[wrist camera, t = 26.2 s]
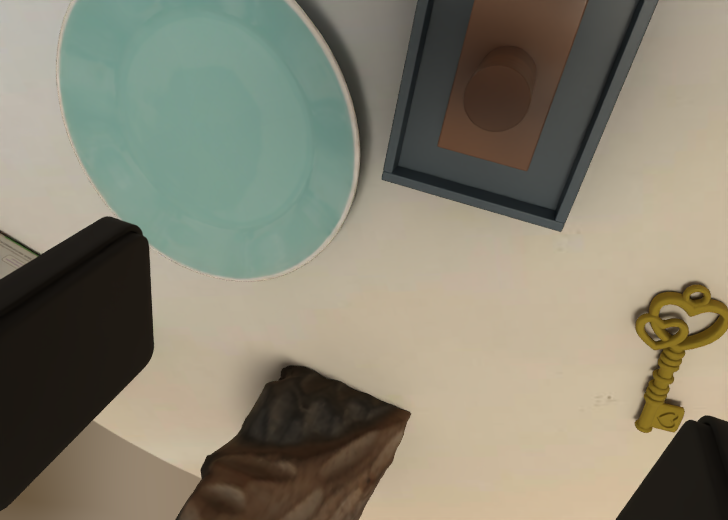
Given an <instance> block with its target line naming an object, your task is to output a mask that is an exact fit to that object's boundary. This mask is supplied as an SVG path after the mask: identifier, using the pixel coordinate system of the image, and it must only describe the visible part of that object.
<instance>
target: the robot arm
mask: <svg viewBox="0 0 728 520" xmlns="http://www.w3.org/2000/svg"><path fill="white" fill-rule="evenodd" d="M153 350H154V338H153V318H152V298H151V277H150V257H149V243H148V240H147V238H146V237H144V236H143V233H142V230H141V229H140V227H138V226H137V225H134V224H131V223H128V222H125V221H122V220H119V219H116V218H113V217H104V218H101V219H99V220H98V221H96V222H94V223H93V224H91V225H89V226H88V227H86V228H84V229H83V230H81V231H79V232H78V233H76V234H74V235H73V236H71V237H70V238H68V239H66V240H65V241H63V242H61V243H60V244H58V245H56V246H55V247H53V248H51V249H50V250H48V251H46V252H45V253H43V254H41V255H40V256H38V257H36V258H35V259H33V260H31V261H30V262H28V263H26V264H25V265H23V266H21V267H20V268H18V269H16V270H15V271H13V272H11V273H10V274H8V275H6V276H5V277H3V278H2V279H0V511H1V510H3V509H5V508H6V507H7V506H8V505H9V504H11V503H12V502H13V501H14V499H16V498H17V496H19V495H20V493H21V492H23V491H24V490H25V488H26V487H27V486H28V485H29V484H30V483H31V482H32V481H33V480H34V479H35V478H36V477H37V476H38V475H39V474H40V473H41V472H42V471H43V470H44V469H45V468H46V467H47V466H48V465H49V464H50V463H51V462H52V461H53V460H54V459H55V458H56V457H57V456H58V455H59V454H60V453H61V452H62V451H63V450H64V449H65V448H66V447H67V446H68V445H69V444H70V443H71V442H72V441H73V440H74V439H75V438H76V437H77V436H78V435H79V433H80V432H81V431H83V429H84V428H85V427H86V426H87V425H88V424H89V423H90V422H91V421H92V420H93V419H94V418H95V417H96V416H97V415H98V414H99V413H100V412H101V411H102V410H103V409H104V408H105V407H106V406H107V405H108V404H109V403H110V402H111V401H112V400H113V399H114V398H115V397H116V396H117V395H118V394H119V393H120V392H121V391H122V390H123V389H124V388H125V387H126V386H127V385H128V384H129V383H130V382H131V381H132V380H133V379H134V378H135V377H136V376H137V375H138V374H139V373H140V372H141V371H142V369H143V368H144V367H145V366H146V365H147V364H148V362H149V361H150V359H151V357H152V354H153ZM616 520H728V422H727V421H724V420H721V419H718V418H715V417H712V416H703V417H702V418H700V419H699V420H698V421H694V420H688V421H686V422H685V423H684V424H683V426H682V427H681V428H680V430H679V431H678V433H677V434H676V435H675V437H674V438H673V440H672V441H671V442H670V444H669V445H668V447H667V448H666V449H665V451H664V452H663V454H662V455H661V456H660V458H659V459H658V461H657V462H656V464H655V465H654V466H653V468H652V469H651V471H650V472H649V473H648V475H647V476H646V478H645V479H644V480H643V482H642V483H641V485H640V486H639V487H638V489H637V490H636V492H635V493H634V494H633V496H632V497H631V499H630V500H629V501H628V503H627V504H626V506H625V507H624V508H623V510H622V511H621V513H620V514H619V515H618V517H617V518H616Z"/></svg>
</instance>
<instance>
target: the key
mask: <svg viewBox="0 0 728 520" xmlns="http://www.w3.org/2000/svg"><path fill="white" fill-rule="evenodd" d="M695 292H701V293H703V294H704V296H703V297H702V299H696V300H691V299H690V295H691V294H693V293H695ZM668 304H672V305H677V306H679V307H681V308H683V309H684V310H685V311H686V312H687V314H688V315H689V316H690V317H692V316H695V315H698V314H701V313H705V312H714V313H718V314H720V316H719V317H718V319H717V321H716V322H715V323H714V324H713V325H712V326H711V327H709V328H708V329H706V330H705V331H703V332H700V333H698V334H695V335H692V336H688V337H687V335H688V333H689V329H688V326H687V324H686V323H685V322H684V321H683V320H681V319H678V318H671V319H667V320H662V319H661V318H660V317H659V312H660V309H661V308H662V307H663V306H664V305H668ZM647 322H650V324H651V327H652V329H653V331H654V333H655V334H656V335H657V336H658V337H659V338H660V339H661V340H659V341H654V340H653V339H652V338H651V337H650V336H649V335H648V334H647V332H646V331H645V324H646V323H647ZM669 327H679V331H678V332H677V333H676V334H674V335H673V336H672V335H671V334H670V333H668V332H667V331H666V330H665V329H666V328H669ZM635 328H636V332H637V334H638V335H639V337H640V338H641V339H642V340H643V341H644V342H645V343H646V344H647V345H648V346H649V347H651V348H652V349H653V350H659V349H663V351H662V352H661V354H660V358H659V359H658V365H659V366H660V368H659V369H656V370H654V372H653V378H654V379H652V380H650V381H649V383H648V387H647V388H646V392H645V394H644V399H645V401H646V403H645V405H644V408H643V410H642V413H641V415H640V418H639V419H638V420H636V422H635V426H636V428H637V429H638V430H639V431H641V432H644V433H648V432H651V431H652V427H654V428H658V429H662V430H666V431H670V432H675V431H676V430H677V429H678V427H679V425H680V423H681V421H682V418H683V416H684V412H685V411H684V408H683V407H679V406H674V405H670V404H666V403H664V401H665V399H666V397H667V393H668V392H669V390H670V388H669V384H672V383H673V381H674V377H673V373H674V372H676V371H677V370H678V369H679V365H680V364H681V363H682V358H683V357H684V355H685V351H684V350H689V349H694V348H698V347H702V346H705V345H708V344H710V343H712V342H714V341H715V340H717V339H719V338H720V337H721V336H722V335H723V334H724V333H725V332H726V331H727V329H728V308H727V306H726V305H725V304H724V303H722V302H720V301H717V300H713V299H711V295H710V291H709V290H708V289H707V288H706V287H705V286H702V285H692V286H689V287H687V288H686V289H685V291H684V292H683V294H680V293H677V292H664V293H659V294H658V295H657V296H655V297H654V298H653V300H652V301H651V304H650V307H649V313H646V314H643V315H641V316H640V317H638V319H637V321H636V326H635Z"/></svg>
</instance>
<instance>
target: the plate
mask: <svg viewBox="0 0 728 520" xmlns="http://www.w3.org/2000/svg"><path fill="white" fill-rule="evenodd" d="M56 79H57V89H58V97H59V103H60V108H61V113H62V117H63V121H64V125H65V128H66V131H67V134H68V137H69V140H70V143H71V145H72V148H73V150H74V152H75V155H76V157H77V159H78V161H79V163H80V165H81V167H82V169H83V171H84V172H85V174H86V176H87V178H88V179H89V181H90V183H91V184H92V186H93V187H94V189H95V190H96V192H97V193H98V195H99V196H100V197H101V199H102V200H103V201H104V203H105V204H106V205H107V207H108V208H109V209H110V210H111V211H112V213H113V214H114V215H115V216H116V217H117V218H118V219H119V220H122V221H125V222H128V223H131V224H134V225H137V226H138V227H140V229H141V230H142V233H143V236H144V237H146V238H147V240H148V243H149V247H151V248H152V249H154V250H155V251H157V252H158V253H160V254H161V255H163V256H164V257H166V258H168V259H169V260H171V261H173V262H175V263H177V264H179V265H181V266H183V267H185V268H187V269H190V270H192V271H195V272H198V273H200V274H203V275H206V276H210V277H214V278H218V279H223V280H230V281H244V282H252V281H262V280H268V279H273V278H276V277H280V276H283V275H286V274H288V273H291V272H293V271H295V270H297V269H299V268H300V267H302V266H304V265H305V264H307V263H309V262H310V261H311V260H312V259H314V258H315V257H316V256H317V255H318V254H320V253H321V252H322V251H323V250H324V249H325V248H326V247H327V245H328V244H329V243H330V242H331V241H332V240H333V238H334V237H335V235H336V234H337V233H338V231H339V230H340V228H341V226H342V225H343V223H344V221H345V219H346V217H347V215H348V213H349V210H350V208H351V205H352V202H353V200H354V196H355V193H356V189H357V184H358V179H359V168H360V138H359V129H358V124H357V118H356V113H355V109H354V105H353V101H352V98H351V95H350V92H349V89H348V86H347V84H346V81H345V79H344V76H343V74H342V71H341V69H340V67H339V65H338V63H337V61H336V59H335V57H334V55H333V53H332V51H331V50H330V48H329V46H328V44H327V43H326V41H325V40H324V38H323V36H322V35H321V33H320V32H319V30H318V29H317V28H316V26H315V25H314V24H313V22H312V21H311V20H310V19H309V17H308V16H307V14H306V13H305V12H304V11H303V9H302V8H301V7H300V6H299V5H298V4H297V2H296V1H295V0H72V1H71V3H70V5H69V7H68V9H67V12H66V14H65V17H64V19H63V23H62V27H61V31H60V35H59V41H58V47H57V58H56Z"/></svg>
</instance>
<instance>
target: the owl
mask: <svg viewBox="0 0 728 520" xmlns="http://www.w3.org/2000/svg"><path fill="white" fill-rule="evenodd" d="M410 415H411V413H410V412H408V411H405V410H402V409H399V408H397V407H395V406H393V405H390V404H387V403H385V402H382V401H380V400H378V399H376V398H374V397H372V396H371V395H368V394H366V393H362V392H358V391H356V390H354V389H351V388H349V387H348V386H347V385H346V384H344V383H342V382H340V381H335V380H330V379H326V378H324V377H322V376H321V375H320V374H318V373H317V372H315V371H313V370H311V369H309V368H306V367H301V366H287V367H285V368H283V369H282V371H281V378H280V379H279V381H272V382H269V383H267V384H266V385H265V387H264V389H263V391H262V393H261V394H260V396H259V398H258V400H257V402H256V403H255V405H254V407H253V409H252V410H251V412H250V413H249V415H248V416H247V417H246V419H245V421H244V423H243V425H242V428H241V430H240V431H239V433H238V434H237V435H236V436H235V437H234V438H233V439H232V440H231V441H229V442H228V443H227V444H225V445H224V446H222V447H221V448H220V449H218V450H217V451H215V452H214V453H212V454H211V455H208V456H207V457H206V459H205V462H204V464H203V465H202V468H201V476H202V480H201V481H200V483H199V484H198V485H197V487H196V489H195V490H194V492H193V493H192V495H191V496H190V497H189V499H188V500H187V502H186V503H185V505H184V506H183V508H182V509H181V511H180V513H179V514H178V516H177V518H176V520H359V518H360V516H361V515H362V512H363V510H364V507H365V505H366V504H367V502H368V500H369V498H370V497H371V495H372V493H373V492H374V490H375V488H376V486H377V484H378V483H379V481H380V479H381V478H382V477H383V475H384V473H385V471H386V469H387V468H388V467H389V466H390V465H391V463H392V462H393V459H394V455H395V452H396V449H397V447H398V446H399V444H400V442H401V440H402V437H403V435H404V430H405V427H406V423H407V421H408V419H409V418H410Z"/></svg>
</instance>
